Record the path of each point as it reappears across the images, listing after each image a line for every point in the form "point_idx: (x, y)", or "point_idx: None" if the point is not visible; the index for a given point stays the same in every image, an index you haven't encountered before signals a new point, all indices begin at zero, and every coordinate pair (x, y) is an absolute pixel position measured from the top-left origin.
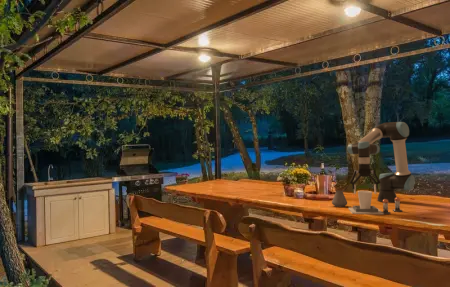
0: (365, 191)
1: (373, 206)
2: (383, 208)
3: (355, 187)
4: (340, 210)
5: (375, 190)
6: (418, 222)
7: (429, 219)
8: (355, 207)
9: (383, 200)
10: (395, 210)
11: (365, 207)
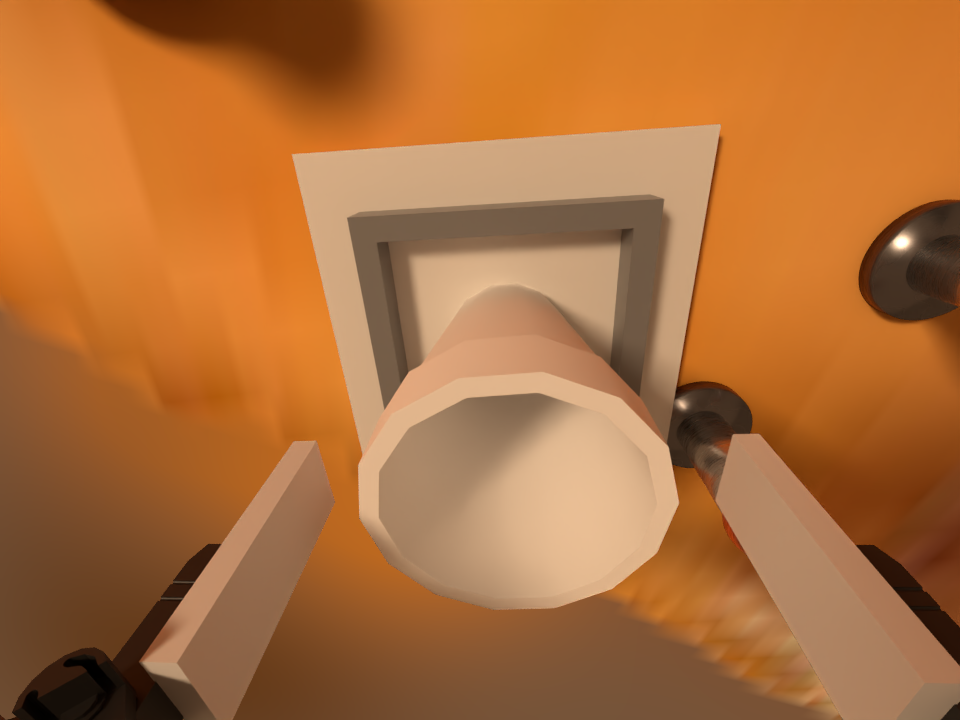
0: (550, 390)
1: (637, 268)
2: (693, 464)
3: (266, 638)
4: (226, 288)
5: (761, 564)
6: (785, 661)
7: (940, 591)
8: (387, 376)
9: (740, 547)
10: (883, 308)
11: (503, 410)
